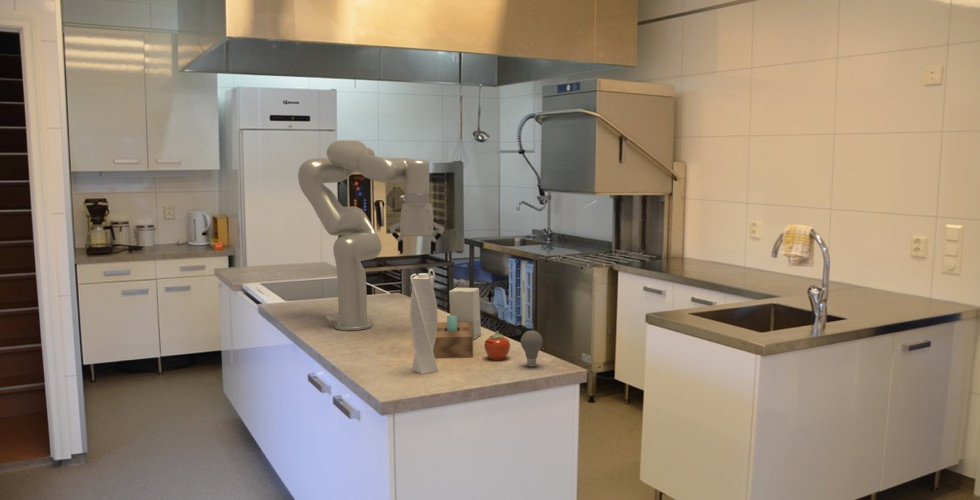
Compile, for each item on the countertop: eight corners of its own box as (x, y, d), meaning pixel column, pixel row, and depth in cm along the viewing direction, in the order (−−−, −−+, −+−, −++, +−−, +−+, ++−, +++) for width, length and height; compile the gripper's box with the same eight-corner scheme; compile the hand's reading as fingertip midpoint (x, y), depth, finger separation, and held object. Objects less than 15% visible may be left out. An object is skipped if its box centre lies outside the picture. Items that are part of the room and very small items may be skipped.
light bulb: (519, 363, 220) (519, 328, 218) (540, 363, 220) (540, 327, 219) (522, 369, 214) (521, 333, 212) (544, 368, 214) (544, 332, 213)
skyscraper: (444, 371, 213) (442, 268, 209) (420, 376, 209) (418, 271, 205) (429, 365, 219) (427, 265, 216) (406, 369, 215) (403, 267, 211)
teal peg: (447, 350, 235) (446, 317, 234) (447, 347, 238) (447, 315, 237) (457, 350, 235) (456, 317, 234) (457, 347, 238) (457, 315, 237)
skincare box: (481, 335, 254) (480, 287, 252) (474, 340, 247) (473, 291, 246) (457, 334, 256) (456, 286, 254) (449, 338, 250) (448, 290, 248)
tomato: (479, 357, 227) (479, 330, 226) (502, 354, 230) (501, 327, 229) (492, 363, 220) (492, 335, 219) (515, 359, 224) (515, 331, 223)
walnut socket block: (431, 358, 227) (430, 337, 226) (433, 341, 247) (433, 322, 246) (472, 357, 227) (472, 336, 226) (472, 340, 247) (471, 321, 246)
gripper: (388, 199, 243) (388, 255, 245) (444, 200, 243) (443, 255, 246) (390, 198, 250) (390, 251, 253) (445, 198, 251) (444, 252, 253)
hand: (416, 253), depth 249 cm, fingers open, 9 cm apart
